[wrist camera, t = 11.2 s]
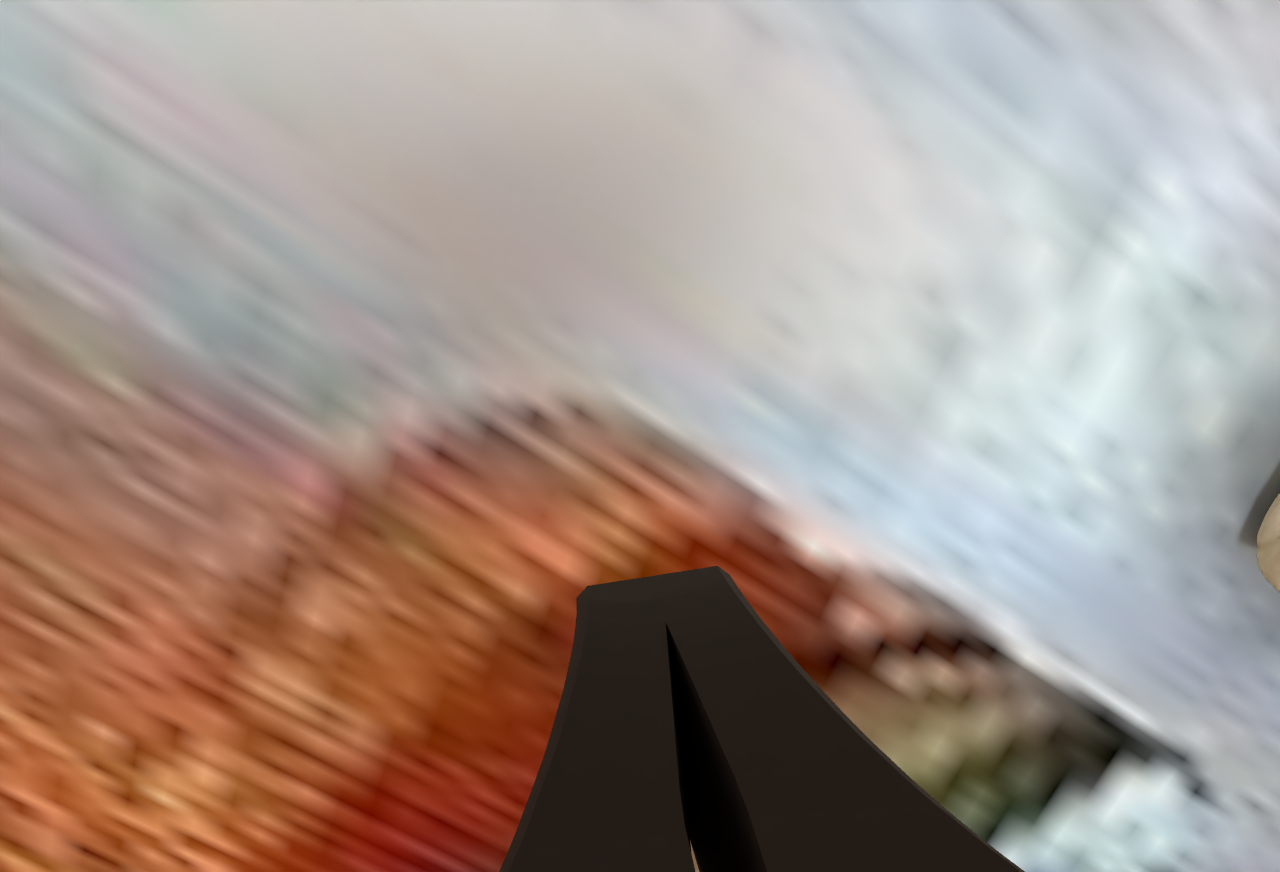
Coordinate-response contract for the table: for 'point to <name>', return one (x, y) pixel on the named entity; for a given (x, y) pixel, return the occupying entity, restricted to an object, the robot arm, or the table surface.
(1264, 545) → the storage basket
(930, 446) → the table surface
